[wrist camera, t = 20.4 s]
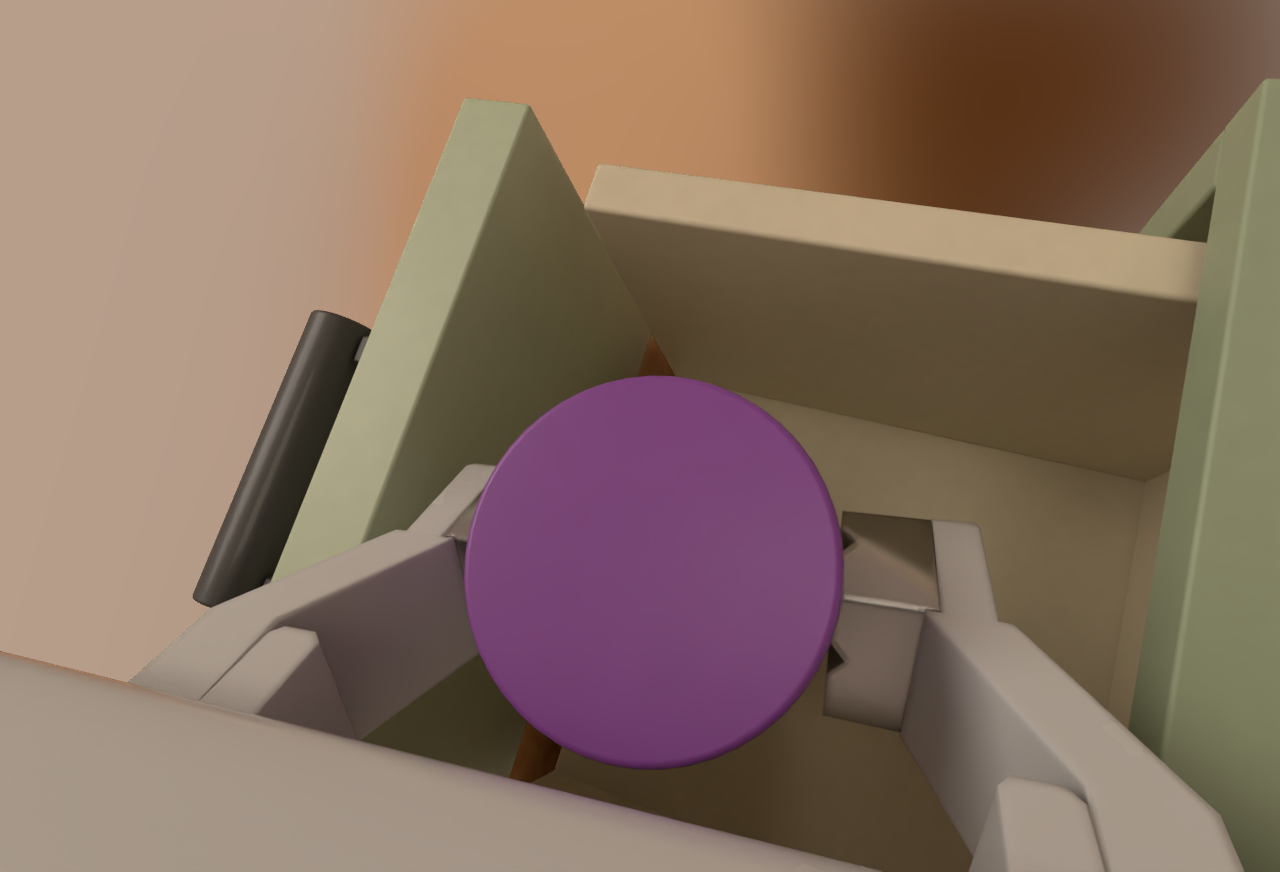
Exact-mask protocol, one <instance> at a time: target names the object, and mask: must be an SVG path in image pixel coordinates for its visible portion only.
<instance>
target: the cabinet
mask: <svg viewBox="0 0 1280 872" xmlns="http://www.w3.org/2000/svg"><path fill="white" fill-rule="evenodd" d="M1139 234H1142V235H1150V236H1157V237H1165V238H1173V239H1180V240H1188V241H1196V242H1203V243H1207V246H1206V252H1205V258H1204V265H1203V271H1202V277H1201V283H1200V289H1199V295H1198V302H1197V308H1196V314H1195V320H1194V326H1193V332H1192V339H1191V345H1190V351H1189V357H1188V363H1187V369H1186V376H1185V382H1184V388H1183V394H1182V400H1181V406H1180V413H1179V419H1178V425H1177V431H1176V437H1175V443H1174V450H1173V456H1172V462H1171V468H1170V474H1169V480H1168V487H1167V493H1166V499H1165V505H1164V511H1163V517H1162V524H1161V530H1160V536H1159V542H1158V548H1157V554H1156V561H1155V567H1154V573H1153V579H1152V585H1151V591H1150V598H1149V604H1148V610H1147V616H1146V622H1145V628H1144V635H1143V641H1142V647H1141V653H1140V659H1139V665H1138V672H1137V678H1136V684H1135V690H1134V696H1133V702H1132V709H1131V715H1130V721H1129V727H1128V730H1129V731H1130V732H1131V733H1132V734H1133V735H1134V736H1136V737H1137V738H1138V739H1139V740H1140V741H1141V742H1142V743H1143V744H1144V745H1145V746H1146V747H1147V748H1149V749H1150V750H1151V751H1152V752H1153V753H1154V754H1155V755H1156V756H1157V757H1158V758H1159V759H1160V760H1161V761H1163V762H1164V763H1165V764H1166V765H1167V766H1168V767H1169V768H1170V769H1171V770H1172V771H1173V772H1174V773H1176V774H1177V775H1178V776H1179V777H1180V778H1181V779H1182V780H1183V781H1184V782H1185V783H1186V784H1187V785H1188V786H1190V787H1191V788H1192V789H1193V790H1194V791H1195V792H1196V793H1197V794H1198V795H1199V796H1200V797H1201V798H1203V799H1204V800H1205V801H1206V802H1207V803H1208V804H1209V805H1210V806H1211V807H1212V808H1213V809H1214V810H1215V811H1217V812H1218V813H1219V814H1220V815H1221V818H1222V820H1223V822H1224V825H1225V827H1226V830H1227V832H1228V834H1229V837H1230V839H1231V841H1232V844H1233V846H1234V848H1235V851H1236V853H1237V855H1238V858H1239V860H1240V863H1241V865H1242V867H1243V870H1244V872H1280V79H1266V80H1264V81H1263V82H1262V83H1261V85H1260V86H1259V87H1258V88H1257V90H1256V91H1255V92H1254V93H1253V94H1252V96H1251V97H1250V98H1249V99H1248V101H1247V102H1246V103H1245V104H1244V105H1243V107H1242V108H1241V109H1240V110H1239V112H1238V113H1237V114H1236V115H1235V116H1234V118H1233V119H1232V120H1231V121H1230V123H1229V124H1228V125H1227V126H1226V129H1225V130H1224V131H1223V132H1222V133H1221V134H1220V135H1219V137H1218V138H1217V139H1216V140H1215V141H1214V143H1213V144H1212V145H1211V146H1210V147H1209V149H1208V150H1207V151H1206V152H1205V153H1204V155H1203V156H1202V157H1201V158H1200V160H1199V161H1198V162H1197V163H1196V164H1195V166H1194V167H1193V168H1192V169H1191V170H1190V172H1189V173H1188V174H1187V175H1186V177H1185V178H1184V179H1183V180H1182V182H1181V183H1180V184H1179V185H1178V186H1177V187H1176V189H1175V190H1174V191H1173V192H1172V194H1171V195H1170V196H1169V197H1168V198H1167V200H1166V201H1165V202H1164V203H1163V205H1162V206H1161V207H1160V208H1159V209H1158V211H1157V212H1156V213H1155V214H1154V215H1153V217H1152V218H1151V219H1150V220H1149V222H1148V223H1147V224H1146V225H1145V227H1144V228H1143V229H1142V230H1141V231H1140V233H1139Z"/></svg>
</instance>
